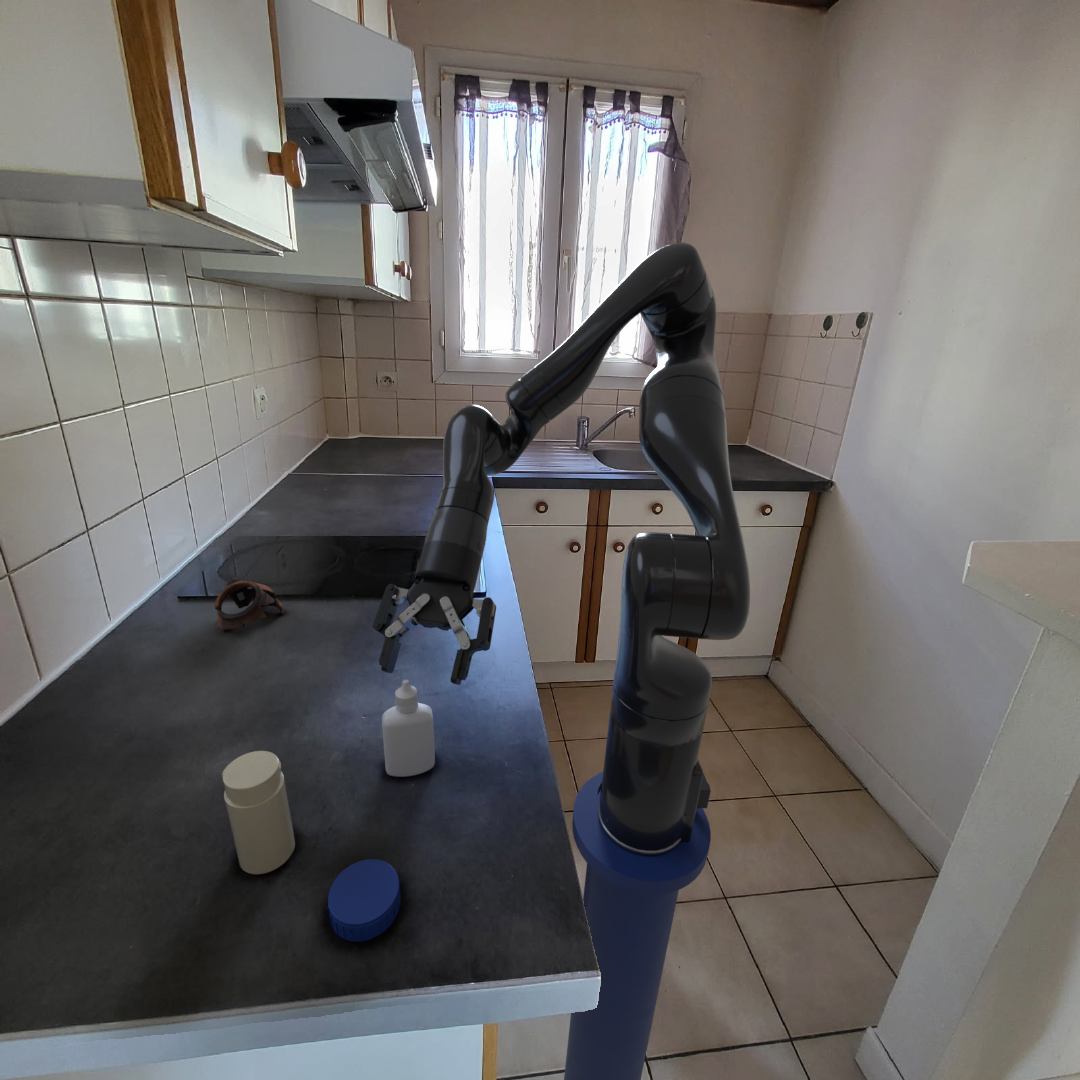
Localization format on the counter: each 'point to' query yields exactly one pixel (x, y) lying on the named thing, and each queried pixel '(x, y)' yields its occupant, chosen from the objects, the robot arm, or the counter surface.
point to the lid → (364, 900)
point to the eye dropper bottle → (408, 734)
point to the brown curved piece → (245, 603)
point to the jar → (258, 811)
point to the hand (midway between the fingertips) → (420, 677)
